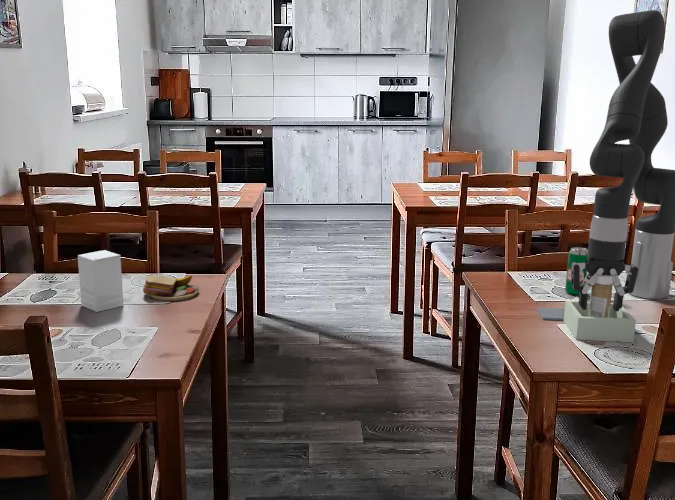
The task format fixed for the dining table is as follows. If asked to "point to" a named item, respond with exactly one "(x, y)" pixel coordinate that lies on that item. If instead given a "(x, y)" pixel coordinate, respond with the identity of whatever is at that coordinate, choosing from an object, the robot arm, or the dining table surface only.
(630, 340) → the crate
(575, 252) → the soda can
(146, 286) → the toy sandwich meal
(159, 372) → the dining table surface
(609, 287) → the sprinkles bottle
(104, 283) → the supplement box
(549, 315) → the coaster
